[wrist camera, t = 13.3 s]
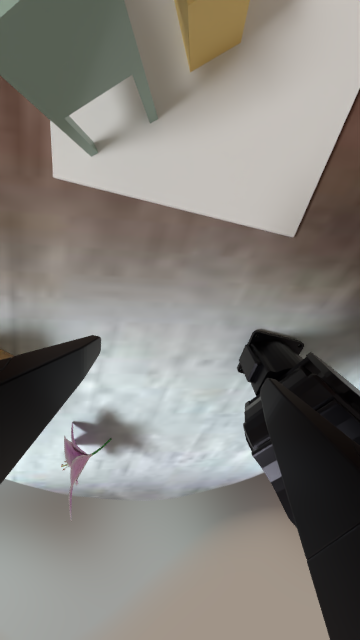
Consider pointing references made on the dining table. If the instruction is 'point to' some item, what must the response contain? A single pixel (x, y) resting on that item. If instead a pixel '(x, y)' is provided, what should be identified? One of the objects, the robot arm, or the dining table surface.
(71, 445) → the lily
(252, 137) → the white rectangular sheet
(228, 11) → the plus sign cube
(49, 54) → the green hollow square frame
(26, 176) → the dining table surface
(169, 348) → the dining table surface
